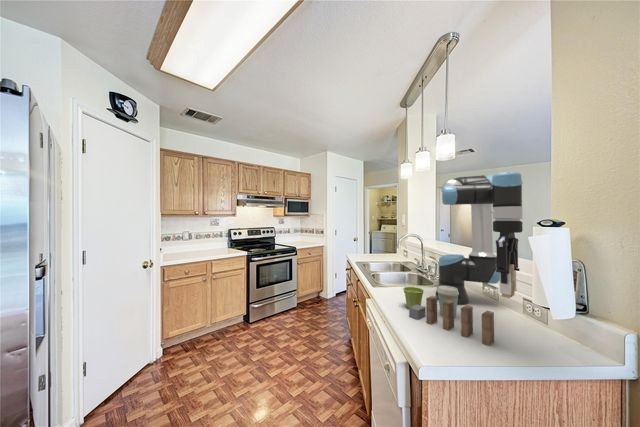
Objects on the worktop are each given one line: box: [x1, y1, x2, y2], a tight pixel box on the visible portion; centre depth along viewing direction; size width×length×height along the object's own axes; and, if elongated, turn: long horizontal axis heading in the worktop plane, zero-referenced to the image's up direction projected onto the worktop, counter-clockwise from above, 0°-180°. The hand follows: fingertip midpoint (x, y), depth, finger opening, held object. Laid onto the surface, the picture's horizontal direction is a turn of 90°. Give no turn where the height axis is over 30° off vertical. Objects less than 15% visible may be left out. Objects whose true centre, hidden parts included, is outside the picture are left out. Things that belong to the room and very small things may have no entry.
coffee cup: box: [436, 286, 459, 319], centre depth 101 cm, size 8×8×12 cm
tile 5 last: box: [425, 295, 438, 325], centre depth 95 cm, size 5×2×10 cm, turn 127°
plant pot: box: [402, 286, 425, 309], centre depth 110 cm, size 9×9×9 cm
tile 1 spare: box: [501, 264, 515, 299], centre depth 75 cm, size 5×2×10 cm, turn 126°
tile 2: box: [481, 310, 495, 347], centre depth 79 cm, size 5×2×10 cm, turn 127°
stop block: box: [408, 305, 426, 321], centre depth 100 cm, size 6×4×4 cm, turn 127°
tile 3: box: [460, 304, 474, 339], centre depth 84 cm, size 5×2×10 cm, turn 127°
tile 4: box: [442, 300, 455, 332], centre depth 90 cm, size 5×2×10 cm, turn 127°
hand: (508, 291), depth 75 cm, fingers closed on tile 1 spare, 5 cm apart
